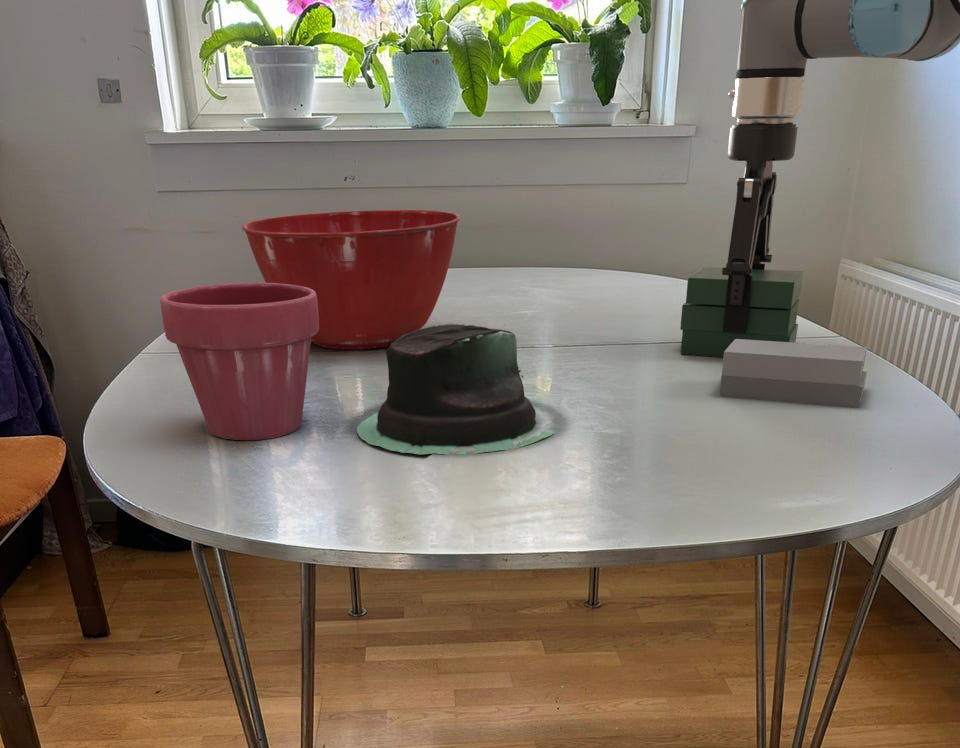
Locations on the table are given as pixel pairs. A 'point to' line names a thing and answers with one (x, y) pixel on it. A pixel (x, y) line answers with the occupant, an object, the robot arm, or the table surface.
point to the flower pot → (245, 353)
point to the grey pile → (794, 372)
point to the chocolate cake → (452, 393)
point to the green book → (765, 288)
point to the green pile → (710, 340)
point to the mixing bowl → (360, 268)
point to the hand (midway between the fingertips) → (741, 324)
